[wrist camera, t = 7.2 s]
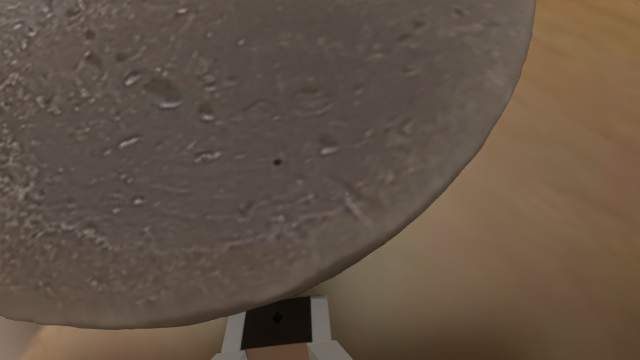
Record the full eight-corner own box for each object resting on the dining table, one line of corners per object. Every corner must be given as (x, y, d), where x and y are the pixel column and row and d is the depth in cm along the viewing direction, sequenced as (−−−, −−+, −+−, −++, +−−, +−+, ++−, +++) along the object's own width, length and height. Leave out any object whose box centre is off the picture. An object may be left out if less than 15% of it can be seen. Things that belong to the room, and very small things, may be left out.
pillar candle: (313, 332, 16) (190, 911, 1) (147, 218, 17) (-738, -71, 3) (416, 159, 18) (792, -321, 3) (260, 70, 19) (72, -522, 5)
